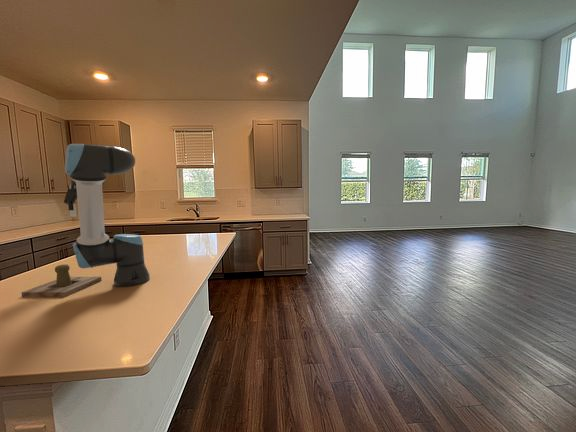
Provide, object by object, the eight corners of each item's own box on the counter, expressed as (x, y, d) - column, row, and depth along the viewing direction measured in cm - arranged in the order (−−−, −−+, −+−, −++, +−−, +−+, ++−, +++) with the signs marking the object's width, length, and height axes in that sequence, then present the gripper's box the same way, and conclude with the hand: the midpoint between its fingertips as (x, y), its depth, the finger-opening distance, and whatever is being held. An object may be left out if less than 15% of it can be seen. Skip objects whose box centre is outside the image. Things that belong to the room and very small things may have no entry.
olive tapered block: (63, 290, 119) (60, 267, 118) (52, 290, 121) (49, 266, 120) (76, 286, 125) (73, 263, 124) (65, 285, 127) (63, 263, 125)
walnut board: (101, 280, 132) (101, 276, 132) (64, 296, 112) (64, 292, 112) (64, 280, 134) (64, 276, 134) (21, 296, 114) (21, 292, 114)
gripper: (92, 177, 155) (96, 213, 157) (51, 175, 130) (56, 218, 132) (104, 176, 154) (108, 212, 156) (65, 174, 129) (70, 217, 132)
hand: (84, 215), depth 144 cm, fingers open, 13 cm apart
